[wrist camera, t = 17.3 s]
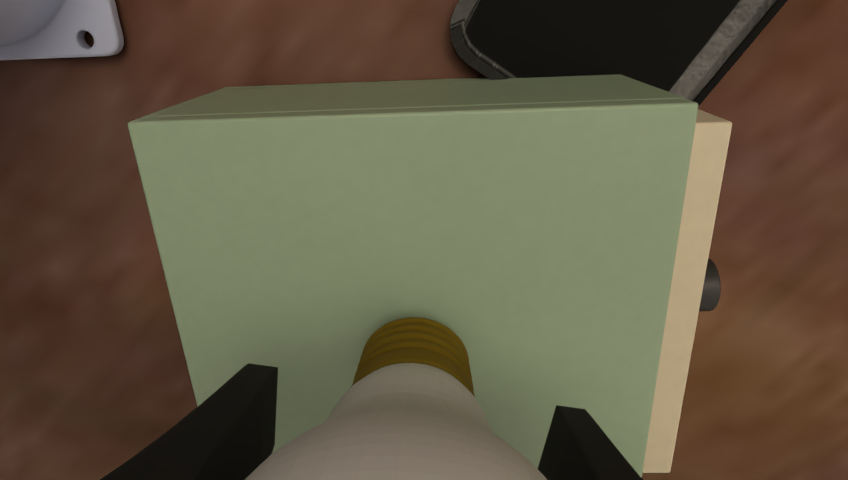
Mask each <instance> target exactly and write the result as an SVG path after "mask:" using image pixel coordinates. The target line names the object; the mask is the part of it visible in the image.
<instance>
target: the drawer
mask: <svg viewBox="0 0 848 480" xmlns="http://www.w3.org/2000/svg"><path fill="white" fill-rule="evenodd" d="M731 128H732V122H730V121H727V120H725V119H722V118H720V117H717V116H715V115H712V114H709V113H707V112H704V111H702V110H699V109H698V112H697V118H696V125H695V132H694V138H693V145H692V151H691V158H690V164H689V171H688V177H687V184H686V191H685V197H684V204H683V210H682V217H681V223H680V230H679V236H678V243H677V250H676V256H675V263H674V269H673V276H672V282H671V289H670V295H669V302H668V309H667V315H666V322H665V328H664V335H663V341H662V348H661V354H660V361H659V368H658V374H657V381H656V387H655V394H654V400H653V407H652V413H651V420H650V426H649V433H648V440H647V446H646V453H645V459H644V466H643V472H642V473H669V472H670V470H671V464H672V459H673V453H674V448H675V442H676V436H677V431H678V425H679V420H680V414H681V408H682V403H683V397H684V392H685V386H686V380H687V375H688V369H689V363H690V358H691V352H692V347H693V341H694V335H695V330H696V324H697V319H698V313H699V311H711V310H713V309H714V308H715V307H716V306H717V304H718V301H719V298H720V290H721V286H720V277H719V273H718V270H717V268H716V266H715V264H714V262H713V261H712V260H710V259H709V258H708V257H709V251H710V246H711V240H712V235H713V229H714V223H715V218H716V212H717V207H718V201H719V195H720V190H721V184H722V179H723V173H724V167H725V162H726V156H727V150H728V145H729V139H730V134H731Z"/></svg>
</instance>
